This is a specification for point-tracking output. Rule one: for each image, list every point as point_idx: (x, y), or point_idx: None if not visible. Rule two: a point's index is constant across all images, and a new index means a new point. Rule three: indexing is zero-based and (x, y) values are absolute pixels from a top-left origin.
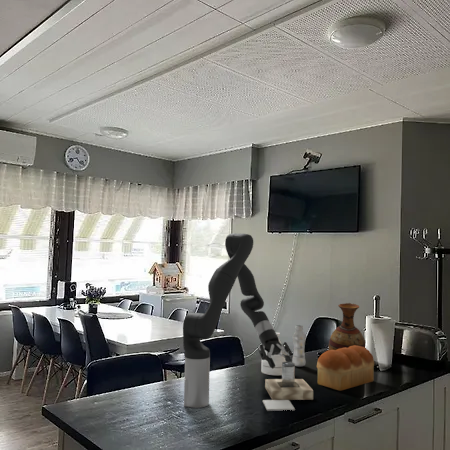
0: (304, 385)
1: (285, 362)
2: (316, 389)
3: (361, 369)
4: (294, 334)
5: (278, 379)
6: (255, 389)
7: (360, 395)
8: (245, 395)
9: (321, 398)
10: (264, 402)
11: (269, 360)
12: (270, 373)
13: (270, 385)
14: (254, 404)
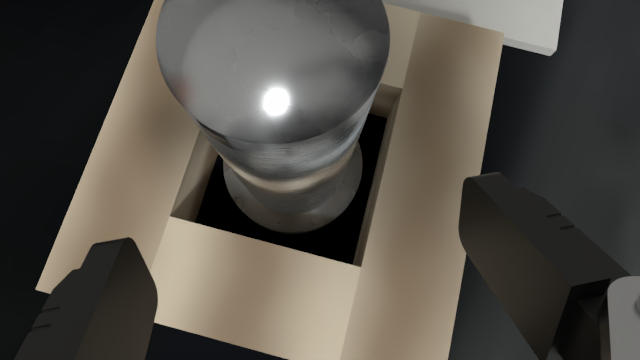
0: (162, 83)
1: (304, 90)
2: (11, 201)
3: None
4: None
5: (302, 348)
6: (516, 352)
7: None
8: (636, 219)
9: (124, 5)
10: (558, 5)
11: (607, 256)
12: None
13: (468, 167)
14: (616, 27)
